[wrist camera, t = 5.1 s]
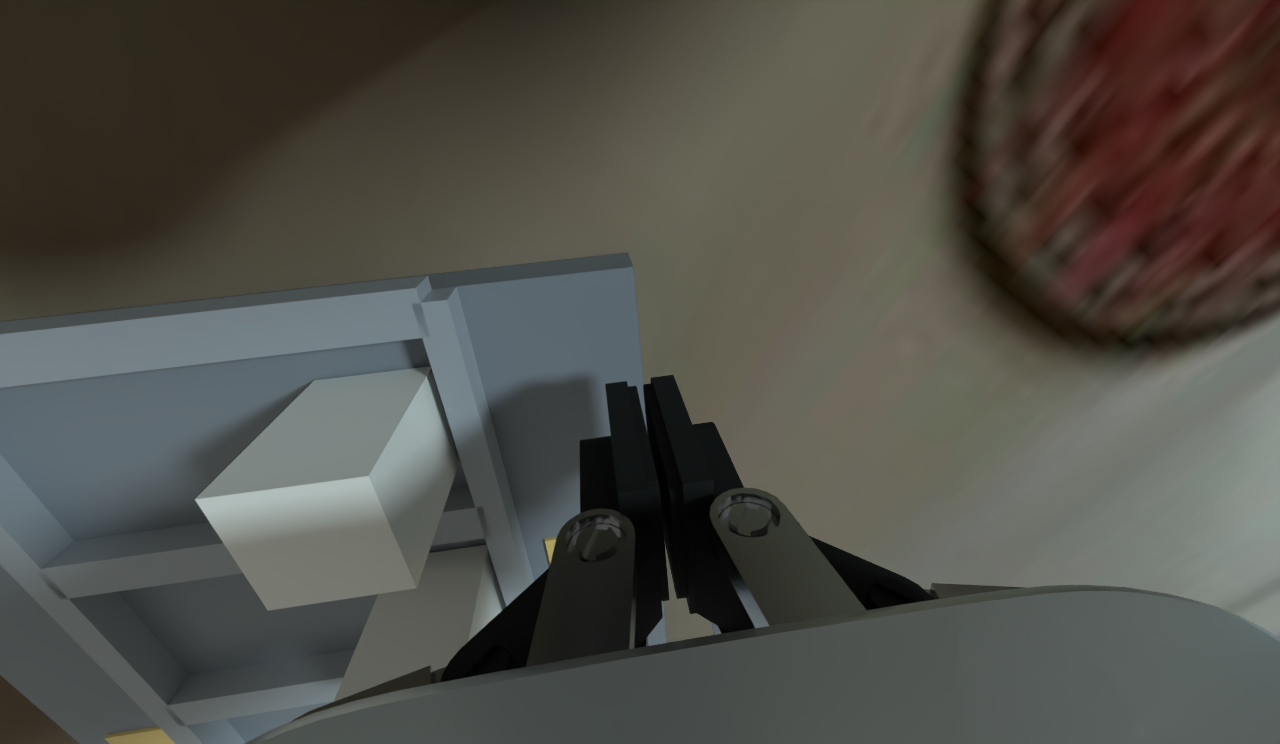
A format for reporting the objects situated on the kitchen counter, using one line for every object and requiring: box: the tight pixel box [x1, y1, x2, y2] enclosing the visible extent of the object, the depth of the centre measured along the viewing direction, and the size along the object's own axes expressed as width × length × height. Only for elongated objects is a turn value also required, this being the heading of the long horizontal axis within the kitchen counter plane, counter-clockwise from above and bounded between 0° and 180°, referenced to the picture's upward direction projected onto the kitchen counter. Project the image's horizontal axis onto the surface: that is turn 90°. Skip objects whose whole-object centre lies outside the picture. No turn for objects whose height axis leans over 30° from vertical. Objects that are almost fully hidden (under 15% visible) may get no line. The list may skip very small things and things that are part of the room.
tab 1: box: [195, 366, 460, 611], centre depth 11 cm, size 3×3×4 cm
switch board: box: [0, 253, 667, 744], centre depth 17 cm, size 22×21×2 cm
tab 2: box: [334, 545, 506, 702], centre depth 14 cm, size 3×3×4 cm
